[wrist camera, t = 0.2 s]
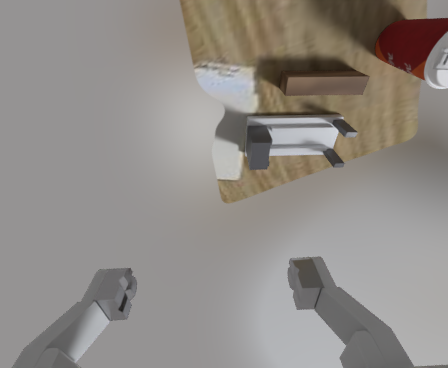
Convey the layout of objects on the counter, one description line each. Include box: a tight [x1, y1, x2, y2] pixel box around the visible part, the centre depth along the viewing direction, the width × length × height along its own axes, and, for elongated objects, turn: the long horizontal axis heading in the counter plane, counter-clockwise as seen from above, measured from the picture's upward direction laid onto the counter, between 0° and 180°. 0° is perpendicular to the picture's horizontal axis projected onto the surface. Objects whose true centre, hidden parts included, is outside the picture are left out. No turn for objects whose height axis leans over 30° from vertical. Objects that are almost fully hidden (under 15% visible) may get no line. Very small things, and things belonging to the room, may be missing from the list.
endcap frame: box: [245, 114, 357, 170], centre depth 45 cm, size 9×20×9 cm, turn 90°
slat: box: [279, 70, 370, 96], centre depth 40 cm, size 3×14×5 cm, turn 90°
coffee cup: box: [375, 18, 448, 89], centre depth 32 cm, size 8×8×15 cm
